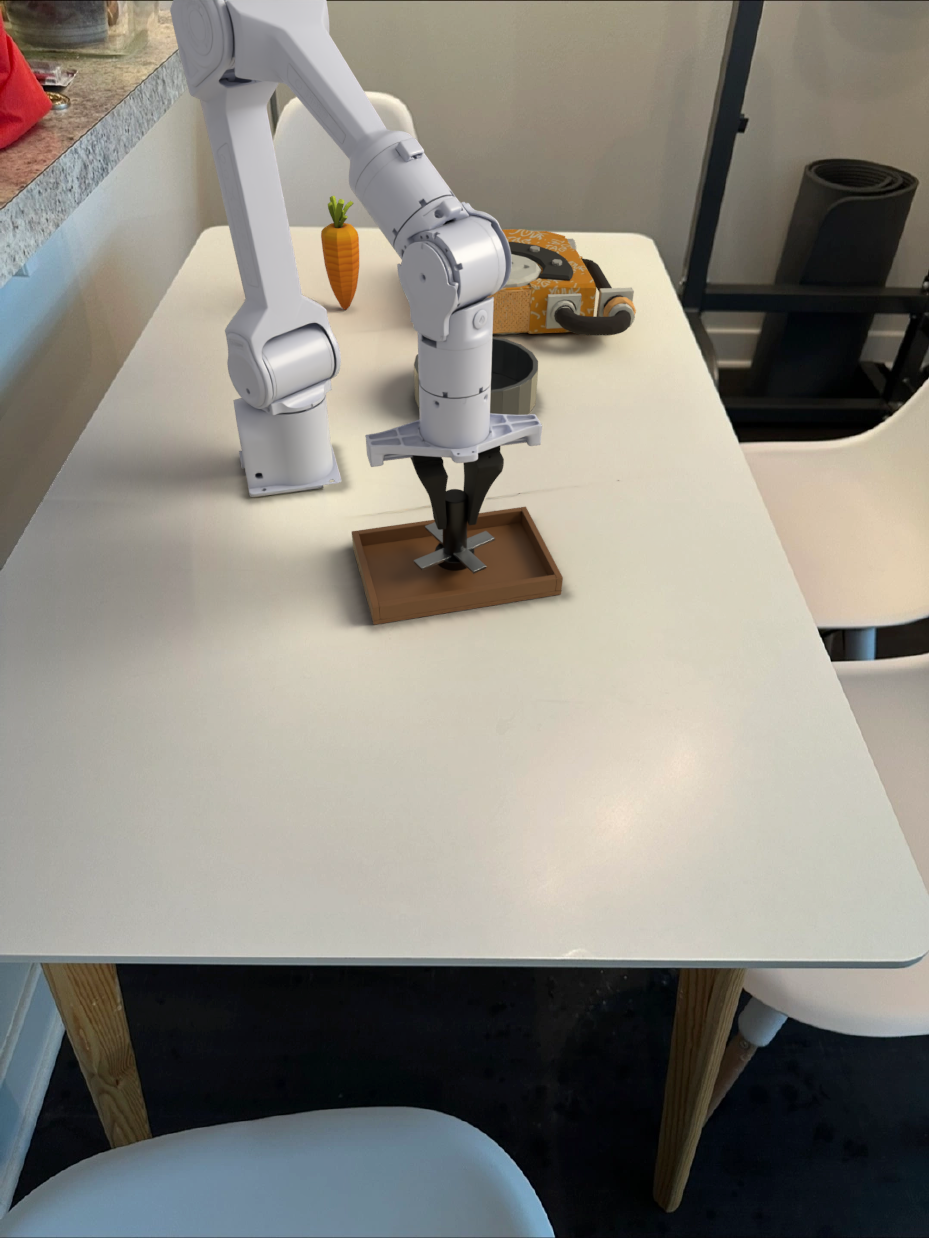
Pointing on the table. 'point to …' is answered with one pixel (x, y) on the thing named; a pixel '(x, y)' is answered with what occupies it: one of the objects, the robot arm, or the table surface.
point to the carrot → (341, 253)
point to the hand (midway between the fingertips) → (454, 520)
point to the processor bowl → (506, 378)
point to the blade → (455, 538)
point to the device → (557, 290)
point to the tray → (409, 592)
